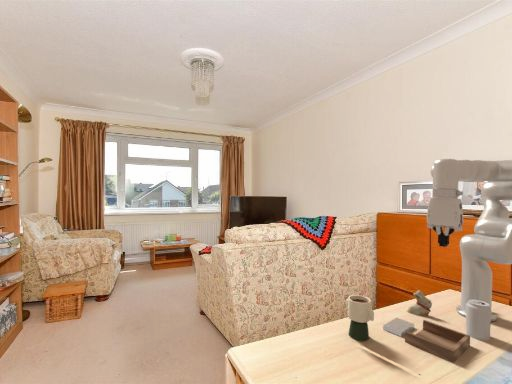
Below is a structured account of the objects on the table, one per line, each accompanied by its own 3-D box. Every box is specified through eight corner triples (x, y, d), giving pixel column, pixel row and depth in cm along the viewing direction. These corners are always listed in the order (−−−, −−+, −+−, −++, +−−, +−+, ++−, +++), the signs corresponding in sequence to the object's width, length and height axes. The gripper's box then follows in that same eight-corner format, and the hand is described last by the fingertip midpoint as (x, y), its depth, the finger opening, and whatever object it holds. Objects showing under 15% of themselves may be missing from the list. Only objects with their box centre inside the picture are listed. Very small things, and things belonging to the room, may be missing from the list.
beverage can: (494, 344, 89) (495, 307, 89) (471, 342, 90) (472, 305, 90) (482, 334, 95) (483, 299, 95) (461, 332, 97) (462, 297, 97)
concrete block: (396, 323, 102) (396, 317, 102) (414, 329, 97) (414, 324, 97) (382, 331, 95) (383, 325, 95) (401, 338, 91) (401, 332, 91)
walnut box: (424, 331, 97) (424, 319, 97) (469, 348, 86) (470, 335, 86) (404, 344, 88) (405, 332, 88) (453, 365, 78) (453, 351, 78)
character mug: (380, 344, 88) (381, 303, 88) (364, 350, 84) (365, 307, 84) (353, 328, 97) (354, 291, 97) (338, 333, 94) (339, 294, 94)
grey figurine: (427, 321, 104) (428, 294, 104) (405, 314, 110) (405, 288, 110) (432, 317, 108) (433, 291, 108) (410, 310, 114) (411, 285, 114)
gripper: (474, 195, 96) (472, 248, 96) (426, 193, 107) (424, 241, 108) (467, 194, 91) (465, 251, 91) (417, 193, 103) (416, 243, 103)
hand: (443, 246), depth 99 cm, fingers closed
